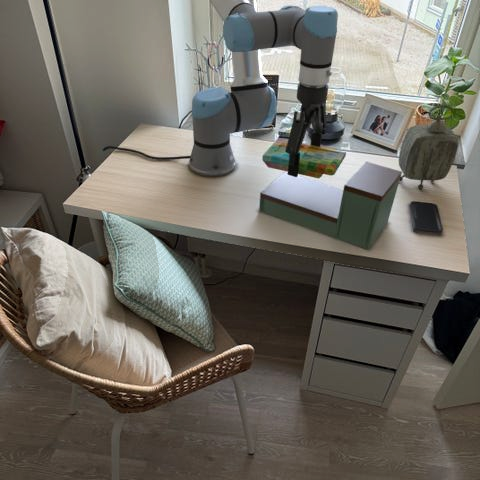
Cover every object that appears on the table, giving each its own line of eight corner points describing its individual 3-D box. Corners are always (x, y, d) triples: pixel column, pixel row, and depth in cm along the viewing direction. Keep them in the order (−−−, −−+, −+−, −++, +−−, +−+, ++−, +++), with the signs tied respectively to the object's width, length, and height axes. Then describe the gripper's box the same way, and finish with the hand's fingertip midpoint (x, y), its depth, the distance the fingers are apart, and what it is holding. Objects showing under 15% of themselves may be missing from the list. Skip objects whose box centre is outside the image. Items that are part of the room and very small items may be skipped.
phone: (436, 203, 139) (443, 231, 129) (435, 206, 140) (441, 235, 130) (409, 200, 140) (414, 228, 130) (408, 203, 141) (412, 231, 131)
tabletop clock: (435, 178, 152) (463, 99, 134) (444, 193, 146) (475, 112, 128) (392, 178, 152) (414, 99, 134) (399, 193, 146) (423, 111, 128)
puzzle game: (277, 135, 132) (346, 149, 126) (276, 151, 135) (343, 165, 130) (262, 152, 124) (335, 167, 119) (261, 168, 128) (332, 184, 122)
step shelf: (259, 210, 137) (261, 159, 126) (283, 189, 146) (288, 139, 135) (368, 249, 125) (382, 196, 113) (387, 223, 134) (402, 171, 122)
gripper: (304, 102, 104) (295, 188, 120) (347, 72, 119) (334, 152, 134) (275, 95, 107) (269, 180, 122) (320, 66, 122) (310, 146, 137)
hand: (303, 165), depth 128 cm, fingers closed on puzzle game, 12 cm apart
